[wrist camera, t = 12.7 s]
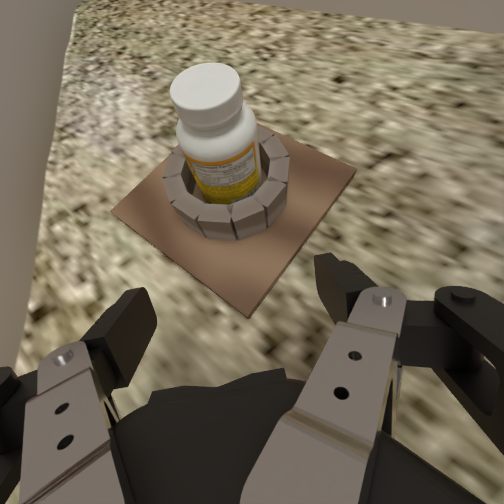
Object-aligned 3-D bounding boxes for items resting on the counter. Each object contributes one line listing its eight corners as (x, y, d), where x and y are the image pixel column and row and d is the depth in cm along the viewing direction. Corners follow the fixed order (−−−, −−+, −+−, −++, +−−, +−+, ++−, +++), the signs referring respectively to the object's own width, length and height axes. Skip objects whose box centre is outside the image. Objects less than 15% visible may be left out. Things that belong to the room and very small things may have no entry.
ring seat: (222, 114, 28) (214, 78, 25) (353, 176, 23) (368, 142, 20) (116, 216, 24) (87, 191, 20) (248, 319, 19) (241, 308, 15)
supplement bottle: (255, 222, 21) (237, 123, 12) (196, 212, 22) (141, 115, 13) (269, 171, 23) (262, 56, 14) (214, 164, 24) (176, 53, 15)
